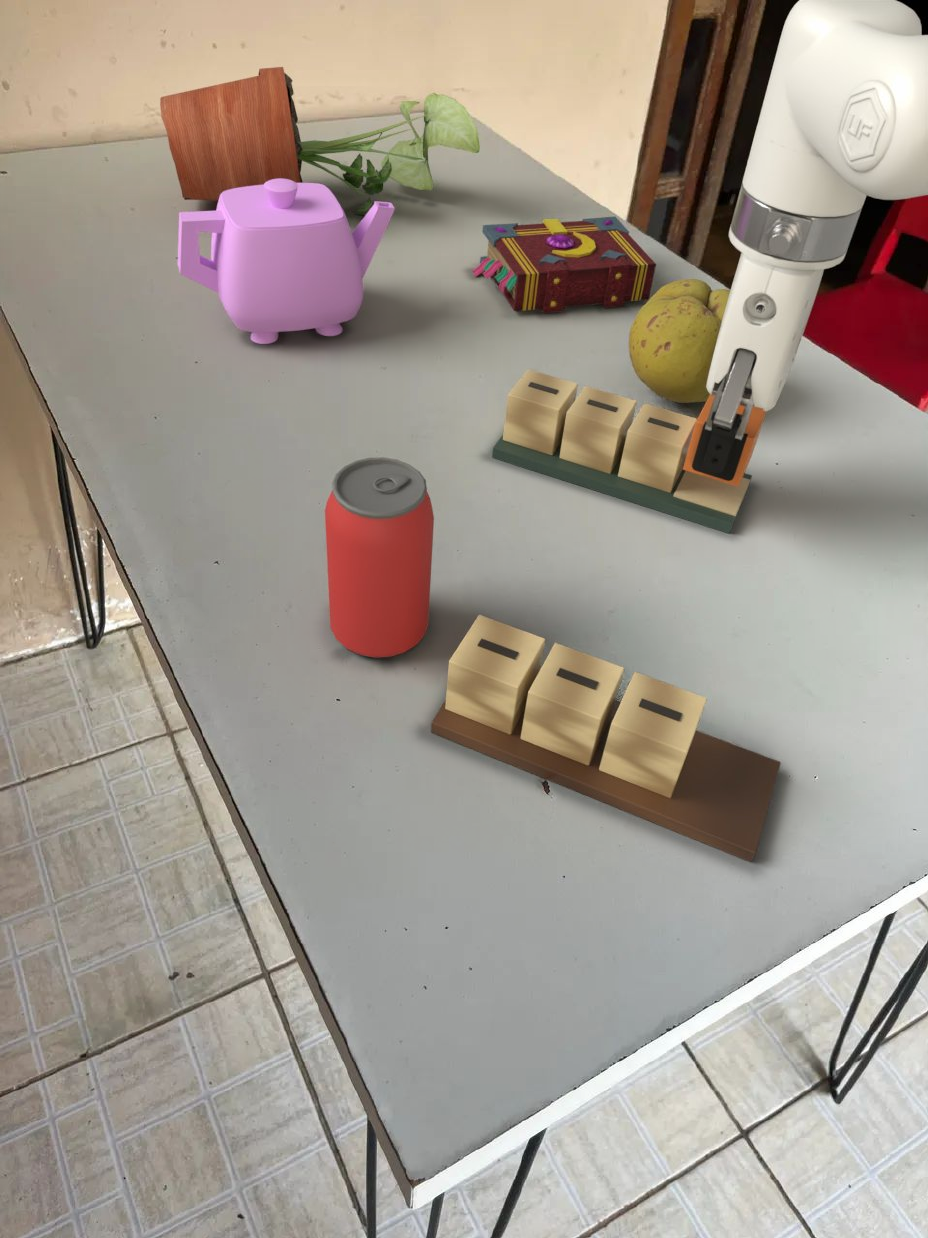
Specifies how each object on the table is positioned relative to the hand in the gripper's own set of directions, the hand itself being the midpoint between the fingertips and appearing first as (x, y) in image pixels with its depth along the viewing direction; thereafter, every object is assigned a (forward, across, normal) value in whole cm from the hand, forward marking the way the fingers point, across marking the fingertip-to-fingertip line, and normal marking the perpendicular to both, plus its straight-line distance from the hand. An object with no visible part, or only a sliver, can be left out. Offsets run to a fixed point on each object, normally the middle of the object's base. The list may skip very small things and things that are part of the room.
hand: (721, 453), depth 75 cm
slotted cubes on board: (+4, -28, -1) cm, 28 cm away
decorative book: (+5, +28, +23) cm, 37 cm away
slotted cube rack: (+4, 0, +7) cm, 9 cm away
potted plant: (+5, +33, +53) cm, 63 cm away
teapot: (+5, +8, +43) cm, 44 cm away
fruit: (+5, +14, +6) cm, 16 cm away
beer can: (+4, -25, +16) cm, 30 cm away
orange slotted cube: (+1, 0, 0) cm, 1 cm away
